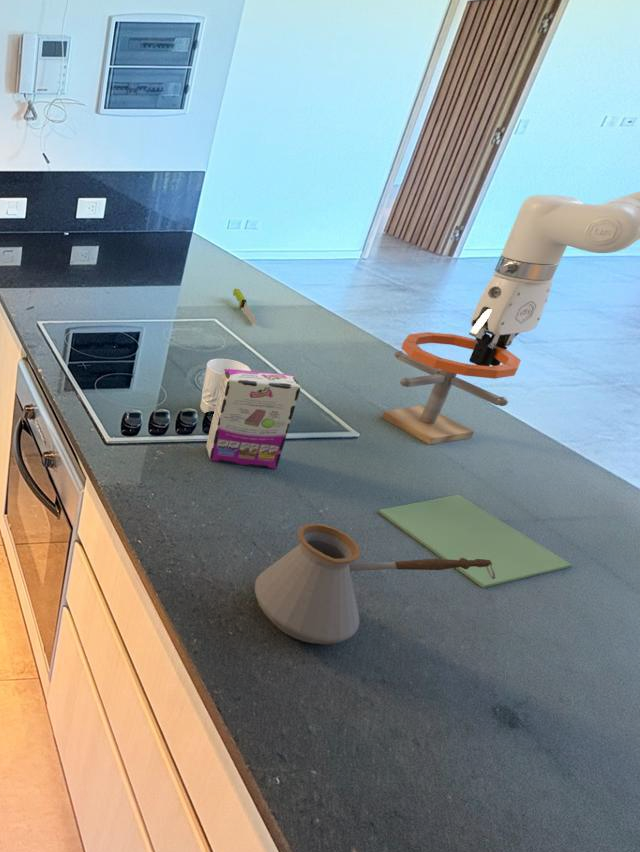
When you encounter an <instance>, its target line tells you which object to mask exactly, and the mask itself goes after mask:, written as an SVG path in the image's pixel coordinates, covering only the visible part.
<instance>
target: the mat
mask: <svg viewBox="0 0 640 852" xmlns="http://www.w3.org/2000/svg"><path fill="white" fill-rule="evenodd" d="M377 512H378V514H380V515H381V516H382V517H384V518H385V519H387V521H390V523H392V524H393V525H395V526H396V527H398V528H399V529H401V530H402V531H403V532H405V533H406V534H408V535H409V536H410V537H411V538H413V539H414V540H415V541H417V542H418V543H420V544H421V545H423V546H424V547H425V548H427V549H428V550H430V551H431V552H432V553H434V554H435V555H437V557H439V558H440V559H449V560H459V559H460V558H465V559H467V560H475V559H485V560H490V561H491V563H492V565H491V566H492V568H493V570H494V573H495V579H492V578H491V577H490V575H489V573H488V571H487V569H486V567H477V566H473V567H469V568H468V569H463V568H462V567H458V568H455V570H457V571H458V572H460V573H461V574H463V575H464V576H466V577H467V578H468V579H470V580H471V581H472V582H474V583H475V584H477V585H478V586H479V587H481V588H482V589H484V588H489V587H494V586H496V585H502V584H505V583H510V582H514V581H518V580H522V579H526V578H530V577H535V576H539V575H543V574H546V573H552V572H555V571H556V572H557V571H560V570H564V569H569V568H571V567H572V566H573V564H572V563H570V562H569V561H568V560H566V559H564V558H562V557H560V556H559V555H558V554H555V553H554V552H552V551H551V550H549V549H548V548H546V547H544V546H543V545H541V544H539V543H538V542H536V541H535V540H533V539H531V537H528V536H527V535H525V534H523V533H522V532H520V531H518V530H517V529H515V528H513V527H512V526H510V525H508V524H507V523H505V522H504V521H502V520H500V519H499V518H497V517H496V516H494V515H493V514H491V513H490V512H488V511H486V510H484V509H482V508H481V507H479V506H478V505H476V504H475V503H473V502H471V501H470V500H468V499H467V498H465V497H463V496H462V495H460V494H452V495H449V496H444V497H437V498H433V499H428V500H423V501H418V502H413V503H412V502H411V503H407V504H403V505H398V506H392V507H388V508H382V509H378V511H377ZM488 568H489V571H490V573H491V575H492V576H493V574H492V571H491V568H490V566H488Z"/></svg>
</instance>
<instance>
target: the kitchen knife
mask: <svg viewBox="0 0 640 852" xmlns="http://www.w3.org/2000/svg"><path fill="white" fill-rule="evenodd" d="M232 291H233V292H232V295H233V296H235V299H236V301H237V302H238V309H241V310H242V312H243V313H244V314H245V315H246V317H247V319H248V320H249V321H250V322H251V323H252V324H254V325H257V324H258V323H259V322H258V319H256V317H255V315H254V314H253V312H252V311H251V308H250V307H249V306H248V304H247V299H246V297H245V296H244V295H243V294H244V293H242V290H240V288H234V289H233V290H232Z"/></svg>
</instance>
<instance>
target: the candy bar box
mask: <svg viewBox="0 0 640 852" xmlns="http://www.w3.org/2000/svg"><path fill="white" fill-rule="evenodd" d="M301 388H302V387H301V385H300V383H299V382H298V381H297V379H296V378H295V376H294V374H287V373H278V372H277V373H276V372H267V371H256V370H255V371H254V370H251V371H244V370H233V369H224V370H223V374H222V379H221V384H220V388H219V392H218V397H217V401H216V405H215V409H214V414H213V417H211V418H212V419H211V423H210V428H209V431H208V436H207V440H206V446H205V448H206V451H207V454H208V458H209V461H211V462H217V463H218V462H219V463H227V464H233V465H243V466H249V467H251V466H252V467H258V468H259V467H261V468H266V469H278V466H279V462H280V460H281V456H282V453H283V450H284V447H285V442H286V439H287V436H288V432H289V428H290V425H291V422H292V418H293V415H294V413H295V412H294V411H295V408H296V406H297V401H298V399H299V395H300V391H301Z"/></svg>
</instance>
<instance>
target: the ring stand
mask: <svg viewBox="0 0 640 852" xmlns="http://www.w3.org/2000/svg"><path fill="white" fill-rule="evenodd" d="M394 357H395V358H396V360H398V361H400V362H402V363H404V364H407V365H409V366H411V367H413V368H415V369H417V370H420V371H422V372H424V373H426V374H427V375H422V376H415V377H403V378H401V379H400V381H399V384H400V385H401V386H402V387H405V388H413V387H414V388H415V387H420V386H426V385H433V387H432V389H431V391H430V394H429V397H428V399H427V401H426V404H425V405H423V404H422V405H415V406H409V407H403V408H396V409H389V410H384V411H383V412H382V414H381V419H384V420H385V421H387V422H388V423H390V424H392V425H394V426H395V427H397V428H399V429H400V430H402V431H404V432H406V433H408V434H410V435H411V436H412V437H415V438H416V439H418V440H420V441H422V442H424V444H427V445H428V446H430V445H435V444H442V443H448V442H454V441H460V440H464V439H465V440H466V439H471V438H472V436H473V435H474V432H475V431H474V430H472V429H471V428H469V427H467V426H465V425H463V424H461V423H459V422H458V421H455V420H453V419H452V418H449V417H447V416H445V414H442V413H441V411H442V410H443V407H444V404H445V402H446V400H447V398H448V395H449V393H450V392H451V389H452V386H454V387H456V388H458V389H461V390H463V391H465V392H467V393H469V394H471V395H473V396H475V397H477V398H479V399H481V400H484V401H486V402H488V403H490V404H493V405H495V406H499V407H505V406H507V405H508V404H509V399H507V397H504V396H500V395H497V394H495V393H492V392H490V391H489V390H486V389H484V388H481V387H479V386H477V385H475V384H473V383H470V382H468V381H466V380H464V379H462V378H459V377H458V374H456V373H452V372H448V371H444V370H440V369H436V368H433V367H431V366H428V365H426V364H424V363H422V362H419V361H417V360H415V359H412V358H410V357H409V356H408V355H407V354H406V353H405V352H404V351H403V350H397V351H395V352H394Z"/></svg>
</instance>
